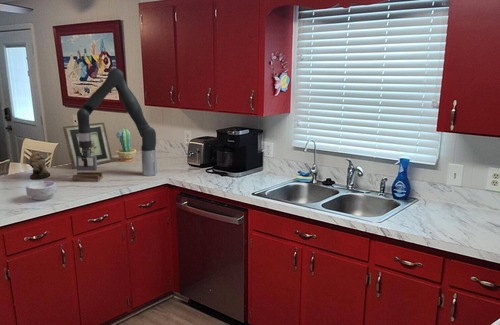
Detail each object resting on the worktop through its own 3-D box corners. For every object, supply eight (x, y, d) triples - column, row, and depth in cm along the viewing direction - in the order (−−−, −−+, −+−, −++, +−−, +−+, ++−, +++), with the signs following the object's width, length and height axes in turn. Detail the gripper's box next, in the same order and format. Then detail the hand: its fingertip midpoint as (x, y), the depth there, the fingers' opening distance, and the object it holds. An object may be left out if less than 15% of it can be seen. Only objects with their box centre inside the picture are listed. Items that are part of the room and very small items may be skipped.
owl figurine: (47, 179, 268) (44, 154, 264) (27, 181, 265) (24, 155, 261) (52, 172, 285) (49, 148, 281) (33, 174, 282) (30, 149, 278)
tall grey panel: (78, 169, 268) (77, 156, 266) (97, 169, 269) (96, 156, 267) (76, 170, 265) (75, 157, 263) (95, 170, 266) (94, 157, 264)
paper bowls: (20, 200, 226) (19, 186, 224) (43, 192, 240) (42, 179, 238) (41, 203, 220) (40, 189, 219) (63, 196, 234) (62, 182, 233)
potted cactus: (118, 158, 332) (117, 127, 327) (138, 158, 334) (136, 127, 328) (114, 162, 317) (112, 130, 312) (135, 162, 319) (133, 130, 313)
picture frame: (73, 169, 295) (69, 127, 289) (66, 167, 301) (62, 126, 294) (112, 161, 321) (110, 123, 314) (105, 160, 326) (102, 122, 320)
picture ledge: (78, 177, 273) (77, 171, 272) (102, 177, 274) (102, 171, 273) (72, 181, 263) (72, 175, 262) (98, 181, 264) (97, 175, 263)
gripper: (82, 138, 269) (84, 163, 273) (74, 141, 256) (77, 168, 259) (94, 138, 270) (96, 163, 273) (87, 141, 256) (89, 168, 260)
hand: (86, 166), depth 266 cm, fingers closed on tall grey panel, 3 cm apart
